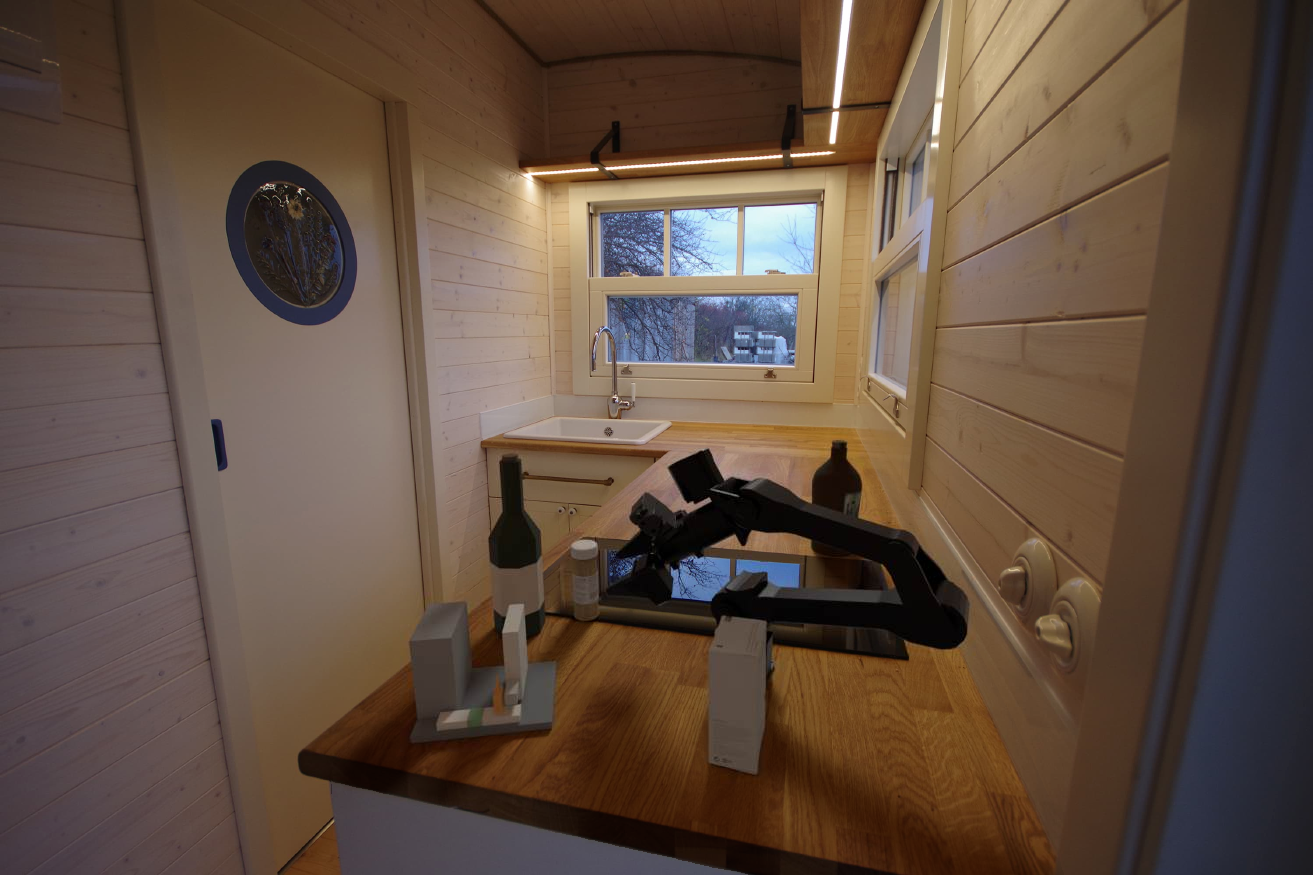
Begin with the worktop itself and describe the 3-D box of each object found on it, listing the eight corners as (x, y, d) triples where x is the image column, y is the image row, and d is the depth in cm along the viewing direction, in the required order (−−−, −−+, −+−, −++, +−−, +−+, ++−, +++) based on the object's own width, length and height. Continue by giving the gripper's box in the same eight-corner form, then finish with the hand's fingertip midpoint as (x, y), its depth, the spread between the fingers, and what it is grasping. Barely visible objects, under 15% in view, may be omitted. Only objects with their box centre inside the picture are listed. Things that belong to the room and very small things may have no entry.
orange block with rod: (504, 702, 68) (502, 671, 67) (502, 712, 66) (500, 681, 65) (496, 702, 68) (494, 672, 67) (494, 712, 66) (491, 681, 65)
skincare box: (757, 777, 59) (762, 659, 56) (704, 764, 61) (706, 649, 58) (765, 724, 67) (770, 618, 64) (718, 714, 69) (721, 611, 66)
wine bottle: (555, 620, 92) (547, 452, 85) (524, 645, 84) (513, 464, 78) (517, 609, 95) (506, 447, 89) (484, 633, 88) (470, 458, 81)
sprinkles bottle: (590, 605, 96) (588, 536, 93) (604, 616, 93) (602, 544, 90) (568, 614, 93) (565, 543, 90) (582, 625, 90) (579, 551, 87)
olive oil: (799, 548, 121) (805, 441, 115) (822, 535, 128) (829, 434, 123) (843, 562, 113) (851, 449, 108) (865, 548, 120) (874, 441, 115)
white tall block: (527, 666, 77) (523, 603, 75) (520, 715, 67) (515, 645, 65) (513, 667, 76) (509, 604, 74) (503, 717, 67) (498, 646, 65)
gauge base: (556, 666, 79) (553, 593, 76) (552, 728, 67) (547, 643, 64) (437, 677, 77) (430, 602, 74) (410, 743, 64) (400, 655, 62)
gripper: (674, 460, 83) (594, 504, 87) (666, 518, 66) (567, 569, 70) (710, 514, 86) (631, 554, 90) (711, 583, 69) (613, 629, 73)
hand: (612, 573), depth 81 cm, fingers open, 9 cm apart
